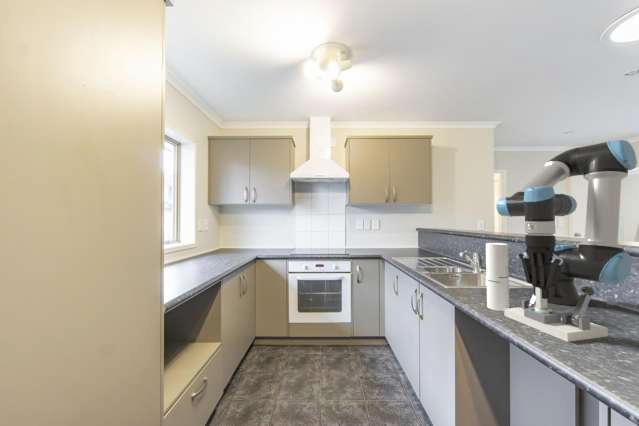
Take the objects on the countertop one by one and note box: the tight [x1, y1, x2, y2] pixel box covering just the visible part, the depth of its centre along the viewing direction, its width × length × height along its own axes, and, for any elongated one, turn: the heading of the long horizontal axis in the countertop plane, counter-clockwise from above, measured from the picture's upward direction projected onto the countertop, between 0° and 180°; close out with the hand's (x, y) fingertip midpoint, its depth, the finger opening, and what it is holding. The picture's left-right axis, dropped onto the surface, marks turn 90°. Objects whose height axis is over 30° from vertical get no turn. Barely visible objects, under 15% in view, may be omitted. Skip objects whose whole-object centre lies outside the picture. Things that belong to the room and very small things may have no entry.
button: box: [535, 307, 550, 314], centre depth 83 cm, size 4×4×3 cm
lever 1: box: [525, 293, 536, 308], centre depth 91 cm, size 3×3×13 cm
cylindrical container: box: [485, 242, 510, 312], centre depth 101 cm, size 7×7×25 cm
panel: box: [503, 298, 609, 343], centre depth 85 cm, size 15×20×6 cm
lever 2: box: [567, 286, 595, 326], centre depth 78 cm, size 3×3×13 cm
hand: (541, 307), depth 83 cm, fingers closed
